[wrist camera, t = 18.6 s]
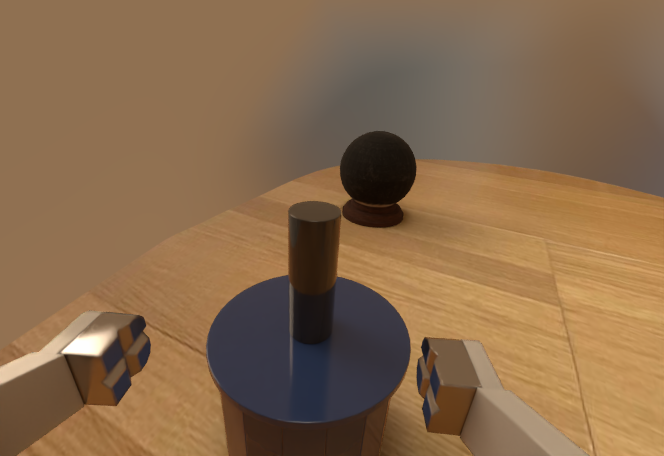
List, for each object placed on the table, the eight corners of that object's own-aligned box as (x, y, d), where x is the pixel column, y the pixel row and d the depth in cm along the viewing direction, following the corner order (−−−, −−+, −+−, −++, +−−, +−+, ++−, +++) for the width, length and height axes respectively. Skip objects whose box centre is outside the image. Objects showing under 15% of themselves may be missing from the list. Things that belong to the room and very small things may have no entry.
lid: (158, 384, 17) (120, 233, 13) (274, 271, 27) (272, 166, 23) (382, 485, 13) (418, 316, 9) (420, 311, 23) (445, 195, 19)
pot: (194, 477, 21) (170, 370, 17) (277, 357, 30) (275, 268, 26) (353, 562, 18) (372, 456, 14) (393, 399, 27) (411, 305, 23)
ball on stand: (420, 214, 62) (435, 133, 56) (385, 237, 53) (398, 143, 46) (362, 196, 70) (369, 123, 63) (322, 214, 60) (326, 129, 54)
